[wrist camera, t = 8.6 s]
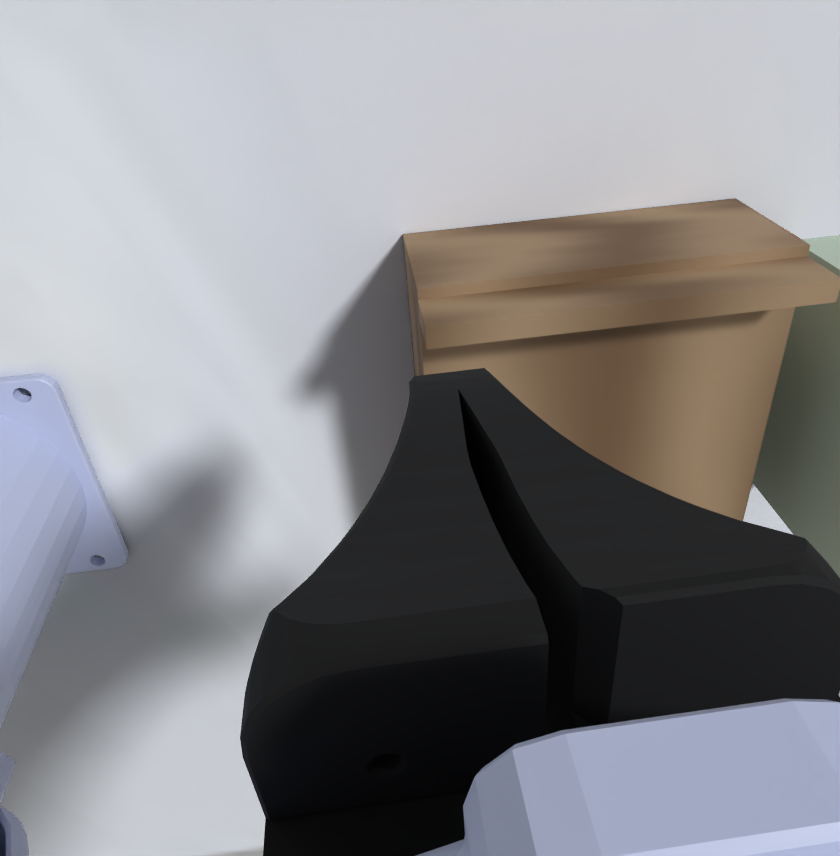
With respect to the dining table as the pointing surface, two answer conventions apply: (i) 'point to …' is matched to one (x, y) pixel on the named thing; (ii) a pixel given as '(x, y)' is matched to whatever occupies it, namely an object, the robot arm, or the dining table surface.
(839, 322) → the cover plate
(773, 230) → the walnut box
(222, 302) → the dining table surface
